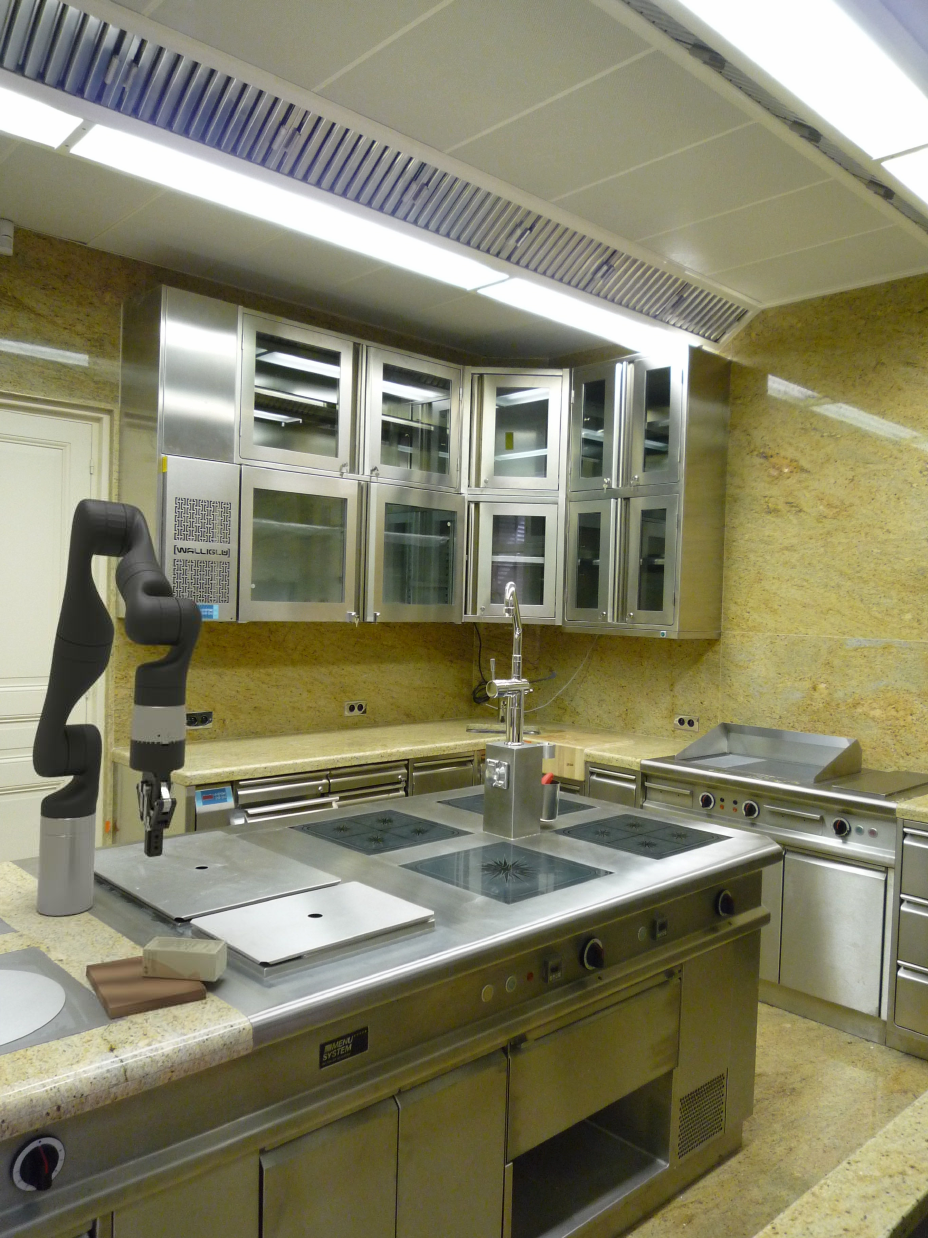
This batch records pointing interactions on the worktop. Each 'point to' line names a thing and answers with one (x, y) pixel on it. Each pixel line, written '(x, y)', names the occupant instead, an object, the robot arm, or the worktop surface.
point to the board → (138, 988)
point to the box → (184, 958)
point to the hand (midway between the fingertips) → (153, 855)
